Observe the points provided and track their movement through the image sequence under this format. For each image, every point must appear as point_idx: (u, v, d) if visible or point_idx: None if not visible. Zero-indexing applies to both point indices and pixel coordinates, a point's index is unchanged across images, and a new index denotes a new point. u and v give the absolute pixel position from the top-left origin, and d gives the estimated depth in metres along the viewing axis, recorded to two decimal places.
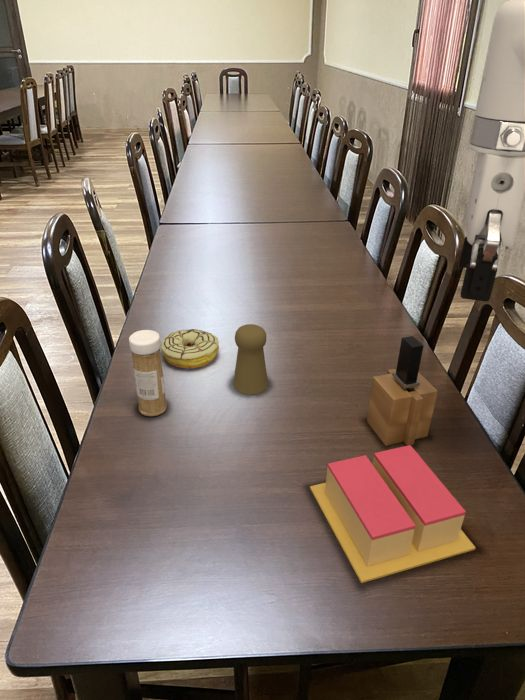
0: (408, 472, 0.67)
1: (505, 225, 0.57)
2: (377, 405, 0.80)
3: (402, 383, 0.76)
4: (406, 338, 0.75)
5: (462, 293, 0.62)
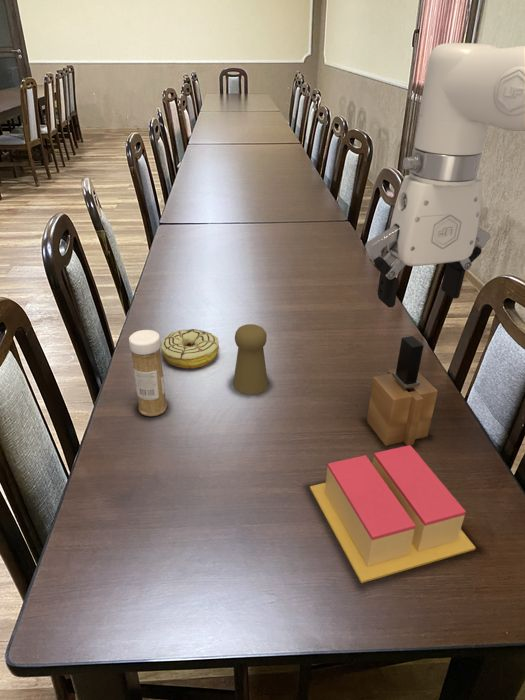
0: (408, 472, 0.67)
1: (400, 240, 0.64)
2: (377, 405, 0.80)
3: (402, 383, 0.76)
4: (406, 338, 0.75)
5: None
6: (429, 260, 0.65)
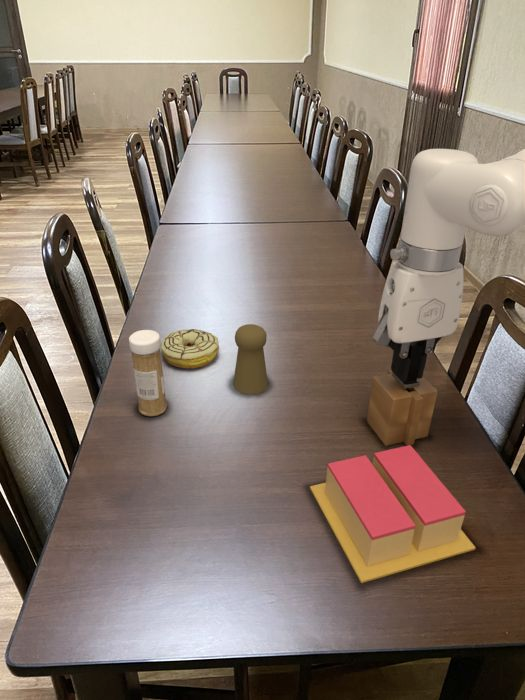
0: (408, 472, 0.67)
1: (389, 321, 0.70)
2: (377, 405, 0.80)
3: (402, 383, 0.76)
4: None
5: None
6: (416, 337, 0.71)
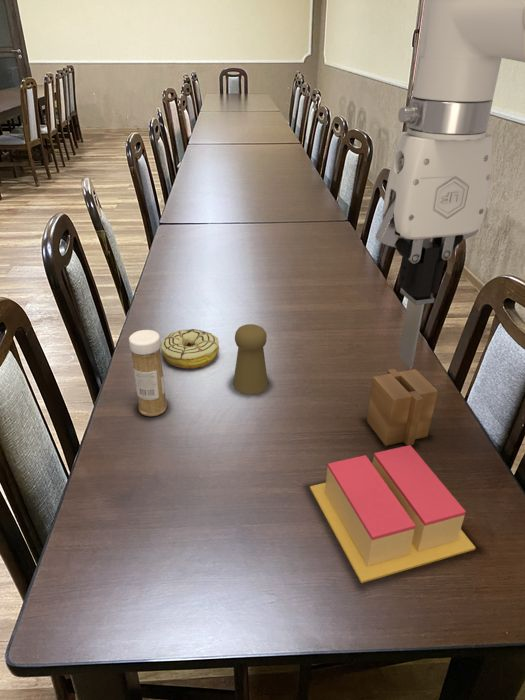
0: (408, 472, 0.67)
1: (396, 209, 0.55)
2: (377, 405, 0.80)
3: (412, 299, 0.61)
4: None
5: None
6: (431, 232, 0.55)
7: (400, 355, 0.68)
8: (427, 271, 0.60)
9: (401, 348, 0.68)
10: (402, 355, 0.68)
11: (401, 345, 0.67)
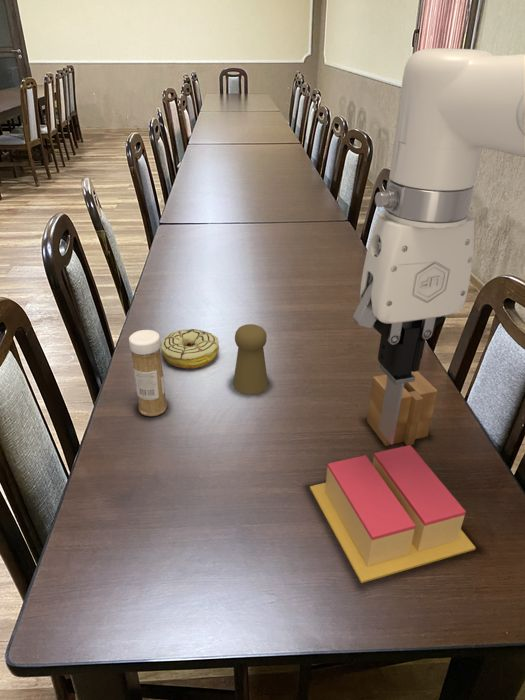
0: (408, 472, 0.67)
1: (373, 293, 0.52)
2: (377, 405, 0.80)
3: (392, 377, 0.59)
4: None
5: None
6: (410, 316, 0.53)
7: (381, 428, 0.65)
8: (407, 351, 0.57)
9: (381, 421, 0.65)
10: (382, 429, 0.65)
11: (381, 418, 0.65)
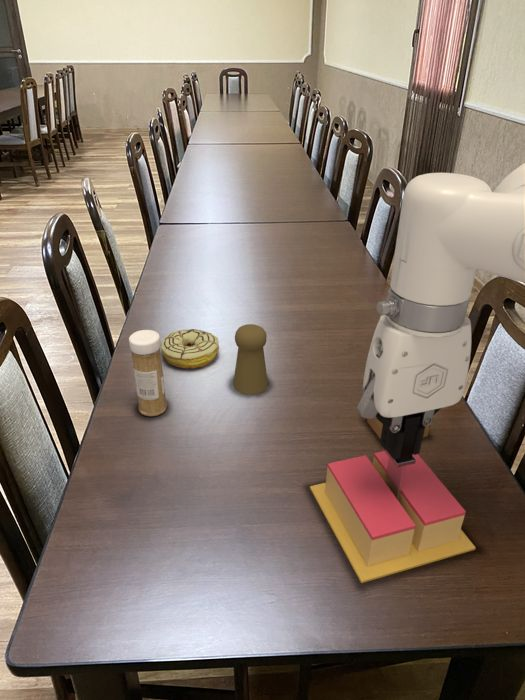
0: (408, 472, 0.67)
1: (376, 390, 0.54)
2: None
3: (394, 460, 0.61)
4: None
5: None
6: (411, 410, 0.55)
7: None
8: (408, 437, 0.60)
9: None
10: None
11: None
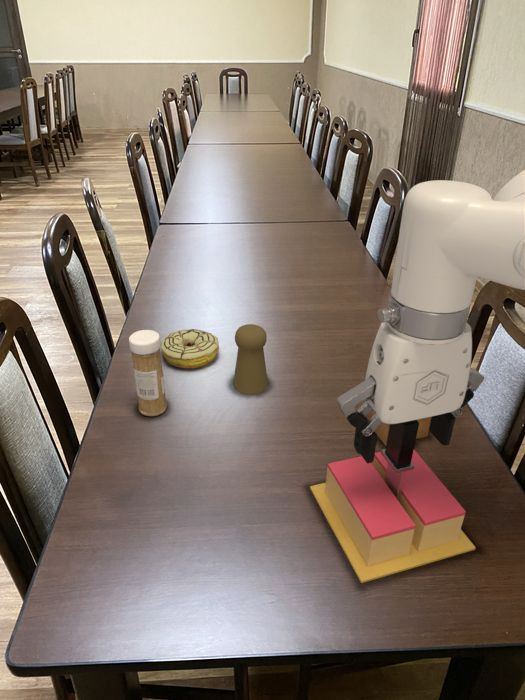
0: (408, 472, 0.67)
1: (377, 397, 0.55)
2: None
3: (393, 466, 0.61)
4: None
5: None
6: (412, 417, 0.55)
7: None
8: (407, 443, 0.60)
9: None
10: None
11: None
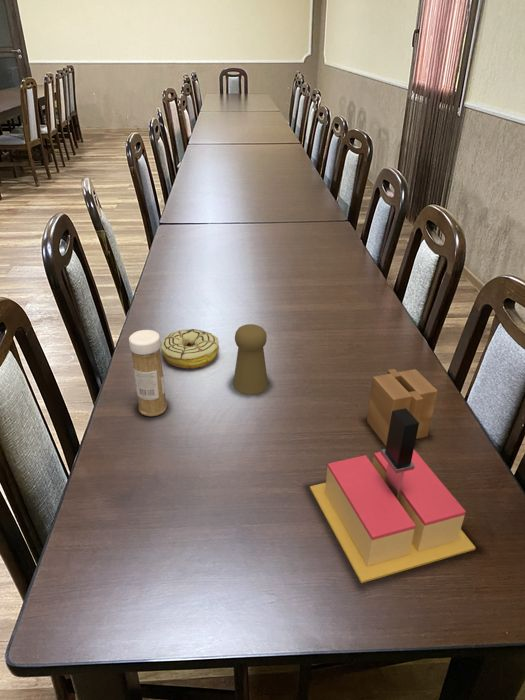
0: (408, 472, 0.67)
1: None
2: (377, 405, 0.80)
3: (393, 466, 0.61)
4: (397, 411, 0.60)
5: None
6: None
7: None
8: (407, 443, 0.60)
9: None
10: None
11: None
